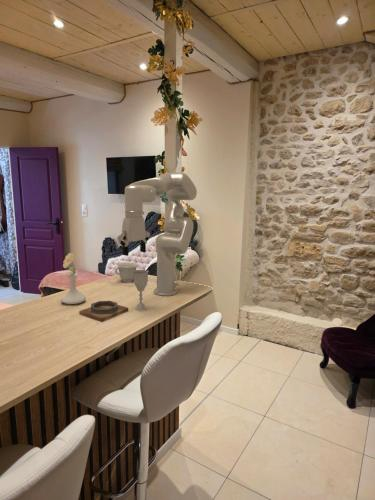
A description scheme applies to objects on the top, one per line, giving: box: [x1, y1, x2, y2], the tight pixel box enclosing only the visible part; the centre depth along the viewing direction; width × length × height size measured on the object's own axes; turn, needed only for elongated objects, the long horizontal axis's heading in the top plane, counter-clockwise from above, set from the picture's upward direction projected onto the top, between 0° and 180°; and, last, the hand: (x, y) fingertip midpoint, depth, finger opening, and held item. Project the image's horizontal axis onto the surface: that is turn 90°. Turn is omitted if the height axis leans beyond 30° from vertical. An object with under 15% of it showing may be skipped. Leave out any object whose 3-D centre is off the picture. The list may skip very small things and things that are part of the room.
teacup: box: [114, 262, 139, 283], centre depth 197 cm, size 12×15×10 cm
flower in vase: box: [60, 252, 87, 305], centre depth 158 cm, size 13×11×25 cm
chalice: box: [133, 269, 150, 312], centre depth 152 cm, size 7×7×18 cm
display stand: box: [78, 300, 129, 323], centre depth 148 cm, size 16×14×4 cm
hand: (134, 253), depth 147 cm, fingers open, 9 cm apart
